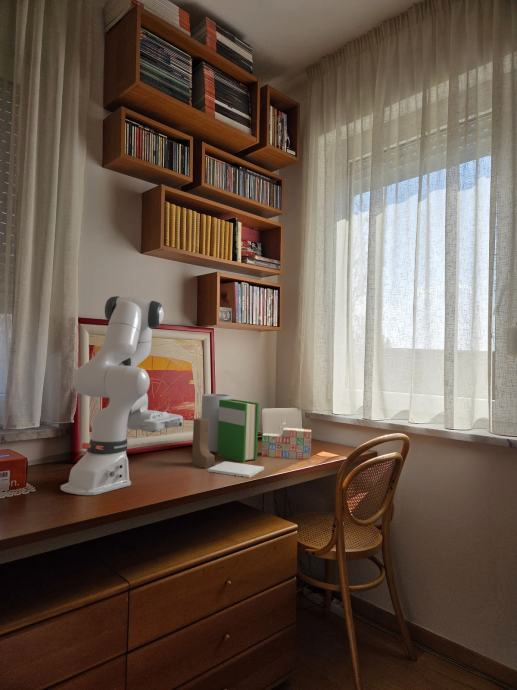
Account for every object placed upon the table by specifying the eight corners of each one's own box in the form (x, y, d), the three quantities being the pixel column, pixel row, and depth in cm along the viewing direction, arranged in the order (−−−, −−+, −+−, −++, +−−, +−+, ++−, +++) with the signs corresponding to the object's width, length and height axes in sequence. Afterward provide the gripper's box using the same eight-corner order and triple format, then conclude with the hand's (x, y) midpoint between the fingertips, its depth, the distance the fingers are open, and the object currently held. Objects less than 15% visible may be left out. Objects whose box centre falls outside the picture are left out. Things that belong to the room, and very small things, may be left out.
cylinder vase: (226, 452, 205) (228, 396, 205) (198, 451, 205) (200, 395, 205) (228, 447, 217) (230, 394, 218) (201, 446, 217) (203, 393, 218)
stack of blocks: (261, 456, 201) (262, 428, 201) (263, 453, 207) (264, 426, 207) (310, 460, 197) (311, 431, 198) (310, 456, 204) (311, 429, 204)
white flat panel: (249, 477, 165) (249, 474, 165) (207, 471, 171) (207, 468, 171) (264, 469, 177) (264, 466, 177) (224, 463, 184) (224, 461, 184)
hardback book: (256, 460, 192) (258, 403, 193) (243, 462, 187) (245, 403, 188) (230, 452, 206) (232, 399, 206) (217, 454, 201) (219, 399, 201)
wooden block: (214, 467, 178) (216, 420, 179) (205, 468, 175) (207, 421, 176) (200, 462, 185) (202, 417, 185) (191, 464, 182) (193, 418, 182)
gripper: (136, 416, 181) (165, 419, 175) (166, 410, 200) (193, 413, 194) (135, 432, 181) (165, 436, 175) (165, 425, 200) (193, 428, 194)
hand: (180, 424), depth 185 cm, fingers closed
